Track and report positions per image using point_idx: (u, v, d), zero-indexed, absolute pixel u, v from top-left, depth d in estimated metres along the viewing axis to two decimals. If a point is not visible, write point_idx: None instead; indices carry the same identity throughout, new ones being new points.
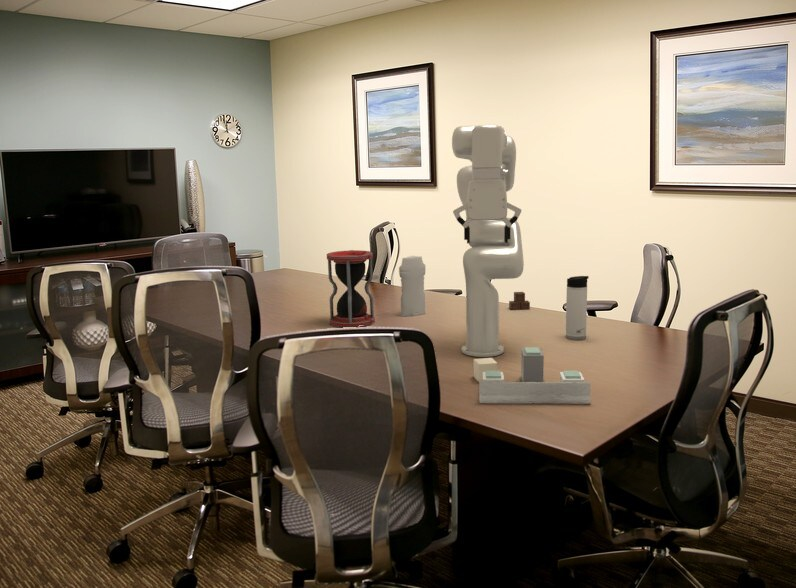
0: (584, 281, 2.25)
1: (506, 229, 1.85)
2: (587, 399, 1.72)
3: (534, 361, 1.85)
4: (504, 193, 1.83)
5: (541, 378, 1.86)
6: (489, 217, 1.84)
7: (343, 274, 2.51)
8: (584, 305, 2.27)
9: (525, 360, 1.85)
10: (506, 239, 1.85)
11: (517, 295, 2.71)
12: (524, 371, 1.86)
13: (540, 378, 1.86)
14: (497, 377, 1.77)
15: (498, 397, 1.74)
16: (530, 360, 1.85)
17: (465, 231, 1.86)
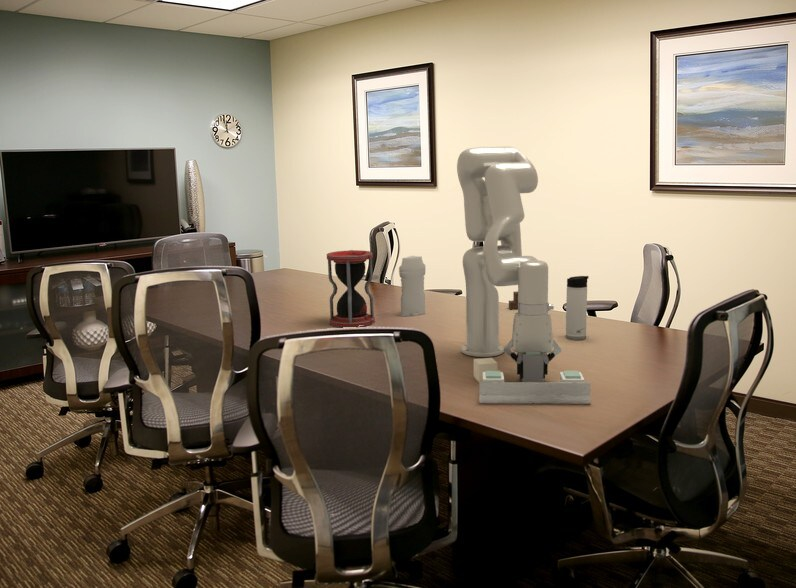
0: (584, 281, 2.25)
1: (544, 366, 1.87)
2: (587, 399, 1.72)
3: (534, 361, 1.85)
4: (550, 328, 1.85)
5: (541, 378, 1.86)
6: (535, 350, 1.86)
7: (343, 274, 2.51)
8: (584, 305, 2.27)
9: (525, 360, 1.85)
10: (543, 375, 1.88)
11: (517, 295, 2.72)
12: (524, 371, 1.86)
13: (540, 378, 1.86)
14: (497, 377, 1.77)
15: (498, 397, 1.74)
16: (530, 360, 1.85)
17: (518, 367, 1.88)
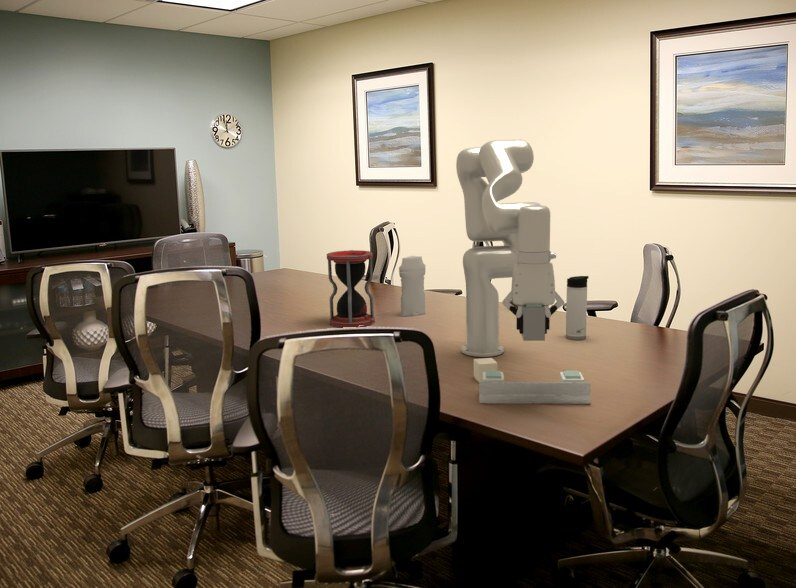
0: (584, 281, 2.25)
1: (545, 320, 1.74)
2: (587, 399, 1.72)
3: (535, 314, 1.71)
4: (552, 278, 1.71)
5: (543, 332, 1.72)
6: (536, 303, 1.72)
7: (343, 274, 2.51)
8: (584, 305, 2.27)
9: (525, 313, 1.72)
10: (545, 330, 1.74)
11: None
12: (524, 325, 1.72)
13: (541, 333, 1.72)
14: (497, 377, 1.77)
15: (498, 397, 1.74)
16: (531, 313, 1.72)
17: (518, 321, 1.75)
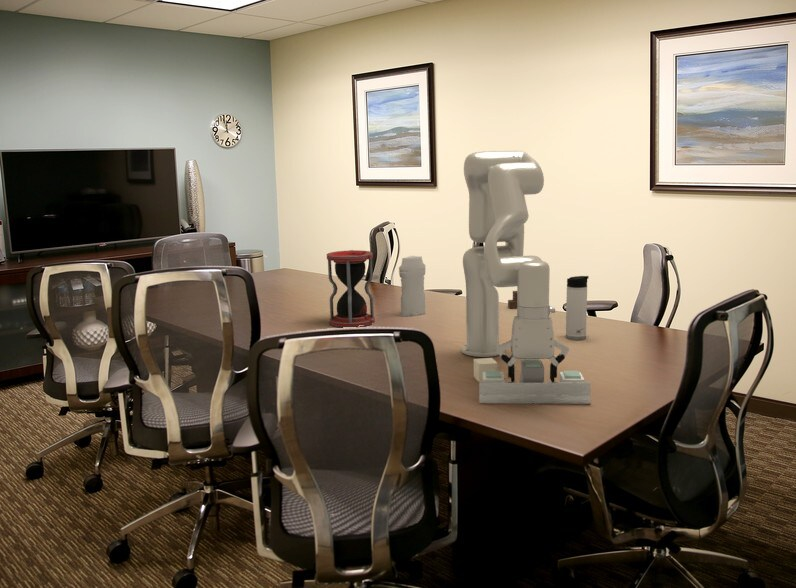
0: (584, 281, 2.25)
1: (553, 368, 1.76)
2: (587, 399, 1.72)
3: (534, 374, 1.75)
4: (551, 332, 1.74)
5: None
6: (535, 356, 1.75)
7: (343, 274, 2.51)
8: (584, 305, 2.27)
9: (524, 373, 1.75)
10: (553, 378, 1.76)
11: (516, 294, 2.74)
12: None
13: None
14: (497, 377, 1.77)
15: (498, 397, 1.74)
16: (530, 373, 1.75)
17: (509, 369, 1.77)
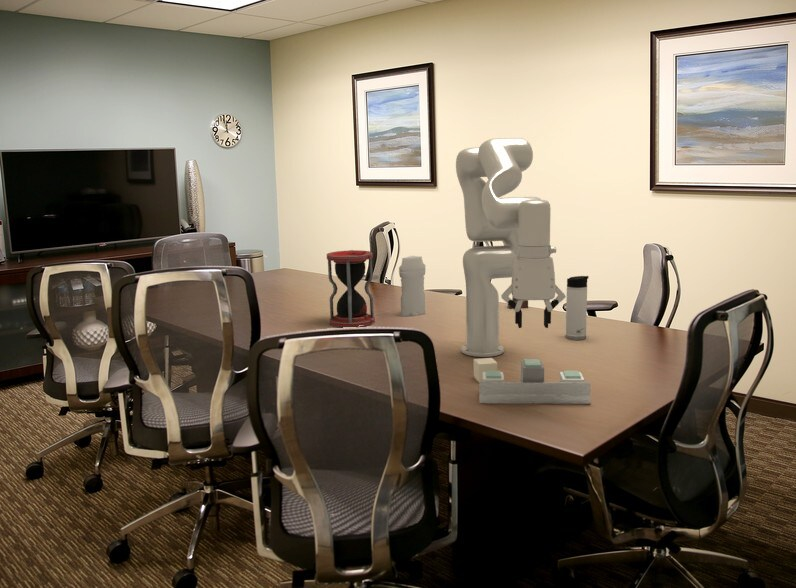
0: (584, 281, 2.25)
1: (547, 314, 1.73)
2: (587, 399, 1.72)
3: (534, 374, 1.75)
4: (552, 272, 1.71)
5: None
6: (536, 297, 1.72)
7: (343, 274, 2.51)
8: (584, 305, 2.27)
9: (525, 373, 1.75)
10: (546, 324, 1.74)
11: None
12: None
13: None
14: (497, 377, 1.77)
15: (498, 397, 1.74)
16: (530, 373, 1.75)
17: (517, 315, 1.75)
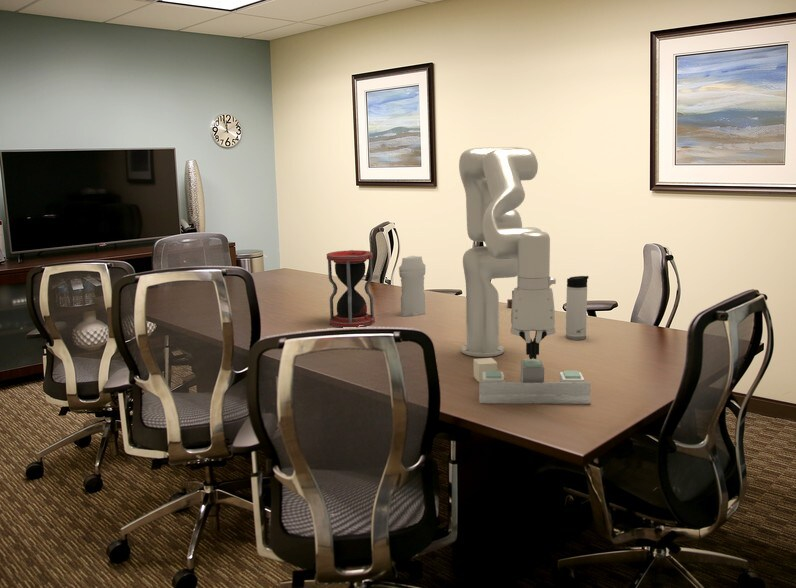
0: (584, 281, 2.25)
1: (535, 345, 1.75)
2: (587, 399, 1.72)
3: (534, 374, 1.75)
4: (552, 303, 1.72)
5: None
6: (536, 328, 1.74)
7: (343, 274, 2.51)
8: (584, 305, 2.27)
9: (525, 373, 1.75)
10: (535, 355, 1.75)
11: None
12: None
13: None
14: (497, 377, 1.77)
15: (498, 397, 1.74)
16: (530, 373, 1.75)
17: (528, 346, 1.76)
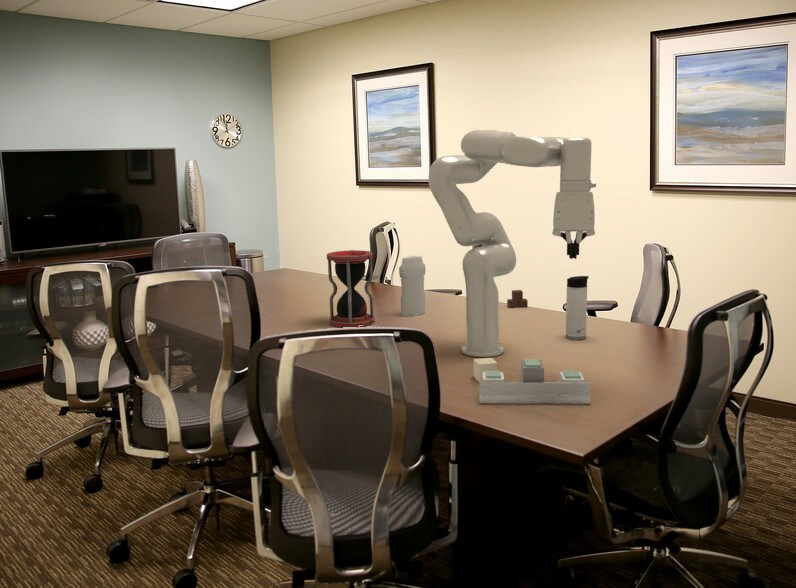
0: (584, 281, 2.25)
1: (575, 245, 1.87)
2: (587, 399, 1.72)
3: (534, 374, 1.75)
4: (592, 205, 1.84)
5: None
6: (576, 228, 1.86)
7: (343, 274, 2.51)
8: (584, 305, 2.27)
9: (524, 373, 1.75)
10: (575, 255, 1.88)
11: (515, 293, 2.75)
12: None
13: None
14: (497, 377, 1.77)
15: (498, 397, 1.74)
16: (530, 373, 1.75)
17: (568, 247, 1.88)
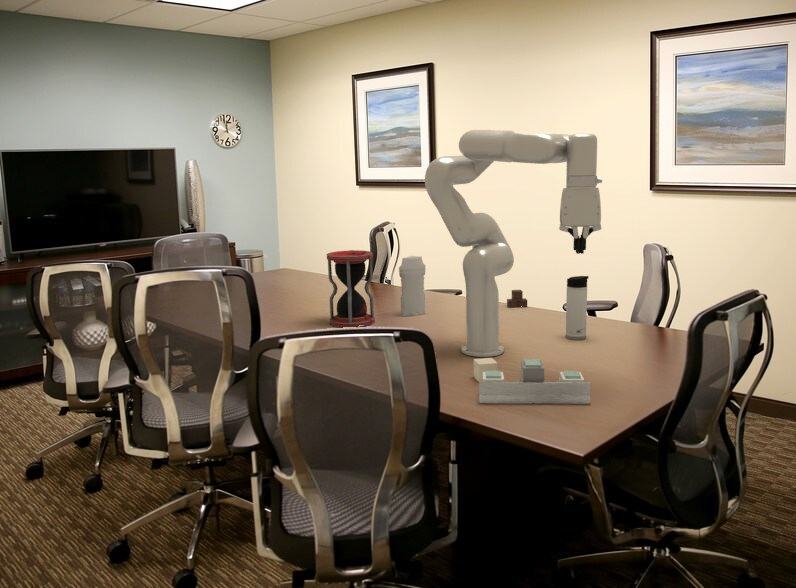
0: (584, 281, 2.25)
1: (582, 240, 1.90)
2: (587, 399, 1.72)
3: (534, 374, 1.75)
4: (599, 200, 1.87)
5: None
6: (583, 224, 1.89)
7: (343, 274, 2.51)
8: (584, 305, 2.27)
9: (525, 373, 1.75)
10: (582, 250, 1.90)
11: (515, 293, 2.75)
12: None
13: None
14: (497, 377, 1.77)
15: (498, 397, 1.74)
16: (530, 373, 1.75)
17: (575, 242, 1.91)
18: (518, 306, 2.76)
